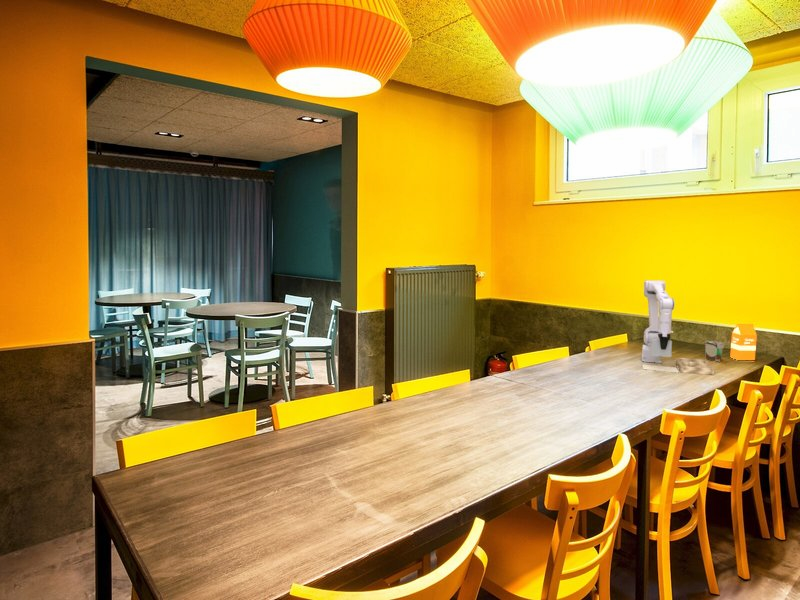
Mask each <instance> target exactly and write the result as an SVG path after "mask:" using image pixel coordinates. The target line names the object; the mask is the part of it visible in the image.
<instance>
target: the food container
mask: <svg viewBox="0 0 800 600" xmlns="http://www.w3.org/2000/svg"><path fill="white" fill-rule="evenodd" d="M704 344H705V358H707V359H710V360H712V361H715V362H718V363H720V362H719V361H721V360H722V355H723V350H724V348H725V344H724V342H720V341H715V340H714V341H713V340H705V342H704ZM707 359H706V360H707ZM710 360H709V361H710ZM712 361H711V362H712ZM715 362H714V363H715Z"/></svg>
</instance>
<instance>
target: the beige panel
mask: <svg viewBox="0 0 800 600" xmlns="http://www.w3.org/2000/svg"><path fill="white" fill-rule="evenodd" d="M641 365H642V370H643V369H647V370H646V371H653V370H656V372H664V371H665V372H666V373H675V372H676V373H678V374H679V372H680V370H679V369H678V367H672V366H663V365H662V366H661V365H651V364H641ZM665 372H664V373H665Z"/></svg>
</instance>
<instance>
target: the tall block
mask: <svg viewBox="0 0 800 600" xmlns="http://www.w3.org/2000/svg"><path fill="white" fill-rule="evenodd" d="M672 346H673V341H672V340H671V339H669V341H668V344H667V347H666V350H664V349H661V346H660V340H656V339H652V350H651V356H661V358H672Z"/></svg>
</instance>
